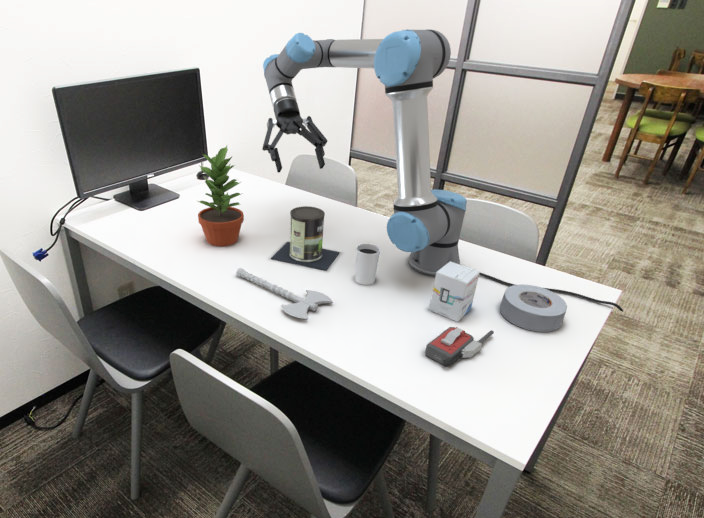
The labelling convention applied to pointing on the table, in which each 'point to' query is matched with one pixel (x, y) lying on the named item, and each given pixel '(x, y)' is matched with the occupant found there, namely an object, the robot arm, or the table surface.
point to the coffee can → (306, 233)
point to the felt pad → (321, 264)
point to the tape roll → (533, 308)
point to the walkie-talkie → (454, 345)
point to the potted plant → (220, 204)
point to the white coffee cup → (366, 263)
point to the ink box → (454, 290)
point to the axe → (290, 296)
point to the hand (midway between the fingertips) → (301, 168)
